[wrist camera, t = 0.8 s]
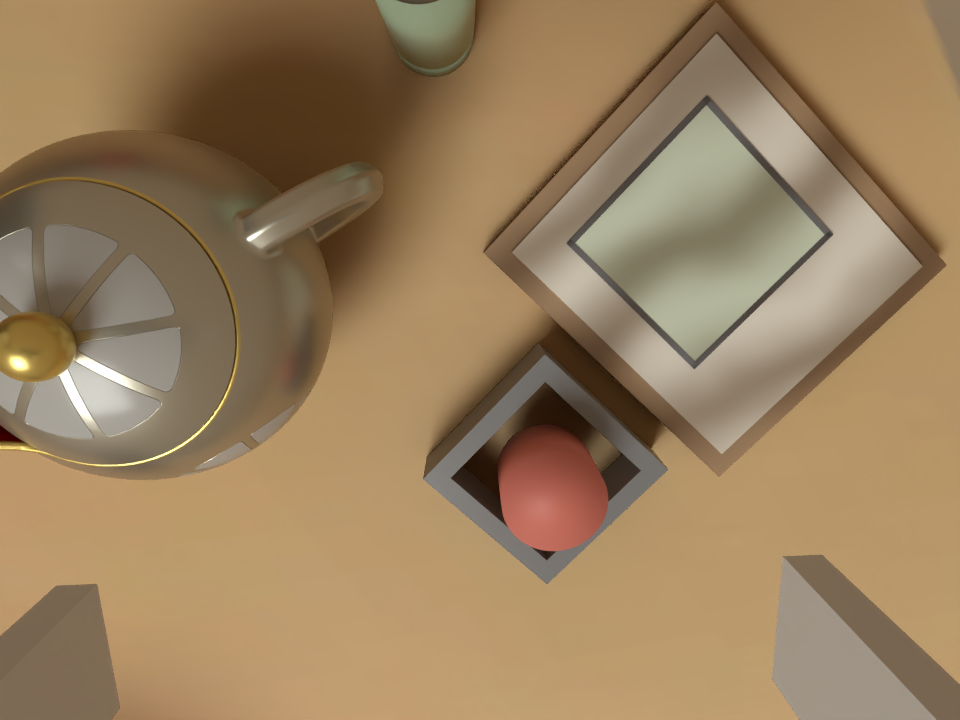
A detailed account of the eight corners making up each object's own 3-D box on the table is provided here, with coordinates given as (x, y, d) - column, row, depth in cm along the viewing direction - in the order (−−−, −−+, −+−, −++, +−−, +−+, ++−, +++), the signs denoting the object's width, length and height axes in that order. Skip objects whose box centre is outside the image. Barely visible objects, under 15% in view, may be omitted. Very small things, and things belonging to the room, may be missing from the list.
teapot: (192, 461, 35) (-38, 665, 19) (33, 248, 32) (-393, 279, 16) (468, 296, 33) (471, 369, 17) (325, 58, 31) (172, -119, 15)
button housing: (426, 457, 35) (423, 479, 32) (538, 342, 34) (544, 354, 31) (540, 555, 37) (547, 584, 34) (651, 448, 35) (668, 469, 32)
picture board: (483, 251, 33) (483, 253, 31) (708, 8, 30) (719, -1, 29) (712, 469, 36) (721, 478, 34) (932, 263, 33) (951, 265, 32)
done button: (477, 471, 33) (479, 505, 29) (543, 404, 32) (554, 430, 28) (544, 530, 34) (555, 570, 30) (610, 466, 33) (630, 499, 29)
